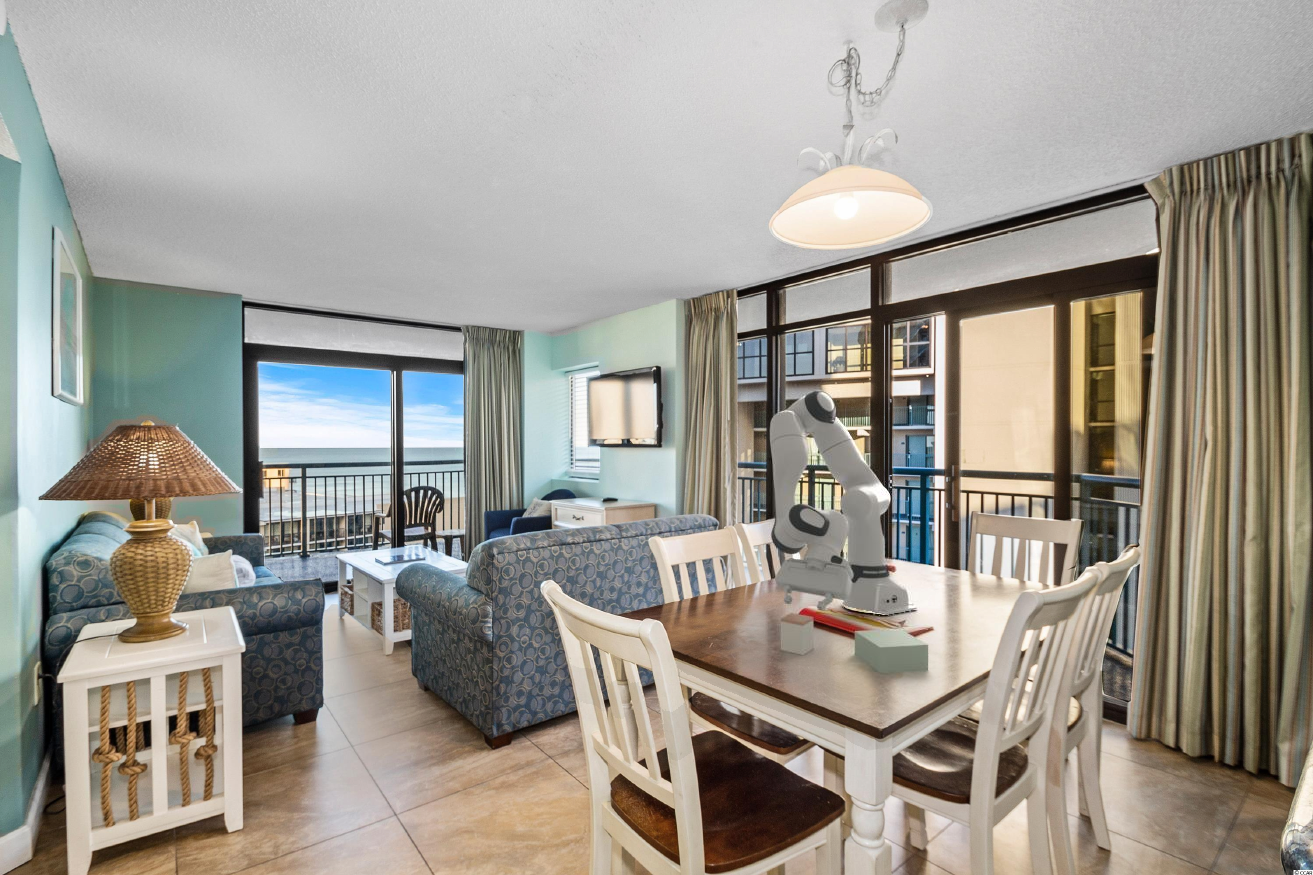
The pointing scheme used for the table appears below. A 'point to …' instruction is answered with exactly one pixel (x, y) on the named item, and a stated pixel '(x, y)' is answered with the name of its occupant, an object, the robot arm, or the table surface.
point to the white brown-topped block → (797, 633)
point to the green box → (891, 650)
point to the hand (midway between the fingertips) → (803, 605)
